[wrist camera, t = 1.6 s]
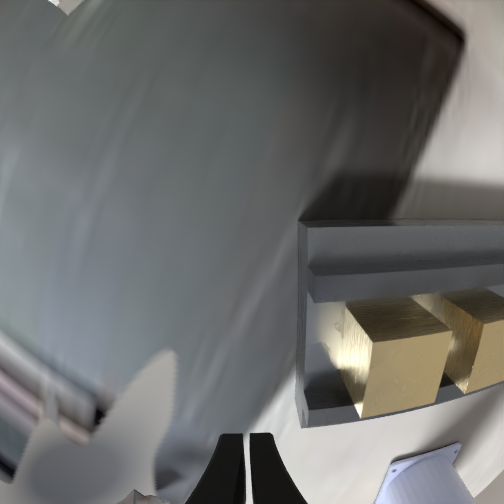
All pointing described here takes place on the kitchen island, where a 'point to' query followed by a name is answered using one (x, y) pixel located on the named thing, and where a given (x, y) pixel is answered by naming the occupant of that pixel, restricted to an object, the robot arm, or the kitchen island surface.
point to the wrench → (142, 499)
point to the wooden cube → (392, 356)
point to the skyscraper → (67, 5)
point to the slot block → (380, 292)
